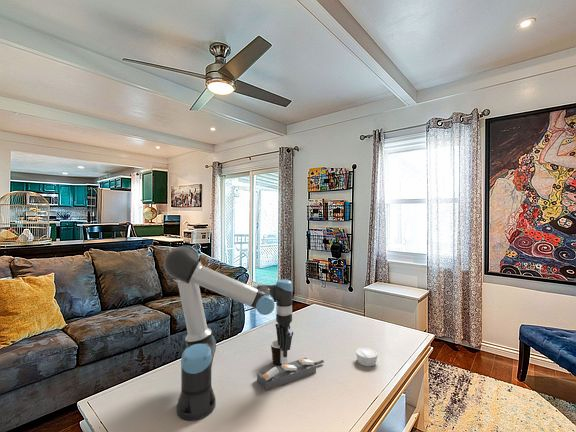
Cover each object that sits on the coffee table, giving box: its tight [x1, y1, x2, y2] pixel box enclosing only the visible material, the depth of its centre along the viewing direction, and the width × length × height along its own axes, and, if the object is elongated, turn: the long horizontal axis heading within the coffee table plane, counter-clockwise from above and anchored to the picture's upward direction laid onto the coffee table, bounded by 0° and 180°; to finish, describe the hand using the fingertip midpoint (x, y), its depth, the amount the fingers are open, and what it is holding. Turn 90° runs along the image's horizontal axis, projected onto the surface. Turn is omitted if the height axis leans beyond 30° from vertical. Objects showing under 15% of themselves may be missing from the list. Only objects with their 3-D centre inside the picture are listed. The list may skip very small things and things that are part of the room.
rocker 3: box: [298, 358, 315, 365], centre depth 142 cm, size 7×3×1 cm, turn 122°
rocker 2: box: [281, 363, 297, 371], centre depth 136 cm, size 7×3×1 cm, turn 122°
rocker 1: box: [263, 366, 279, 381], centre depth 131 cm, size 7×3×1 cm, turn 121°
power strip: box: [256, 357, 325, 392], centre depth 140 cm, size 36×9×4 cm, turn 121°
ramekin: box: [355, 347, 379, 367], centre depth 152 cm, size 11×11×5 cm
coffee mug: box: [270, 340, 286, 367], centre depth 152 cm, size 12×9×10 cm
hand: (283, 362), depth 135 cm, fingers closed
